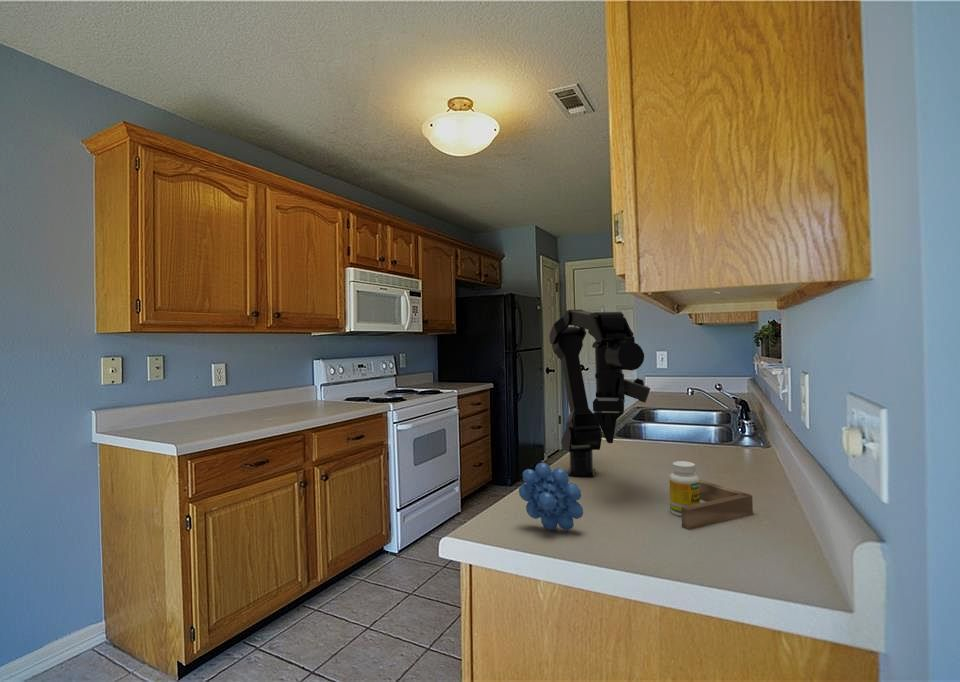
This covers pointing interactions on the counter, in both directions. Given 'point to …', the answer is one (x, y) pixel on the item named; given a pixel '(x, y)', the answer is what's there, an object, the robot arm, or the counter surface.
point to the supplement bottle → (683, 487)
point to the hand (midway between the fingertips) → (610, 438)
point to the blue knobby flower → (551, 497)
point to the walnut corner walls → (716, 506)
